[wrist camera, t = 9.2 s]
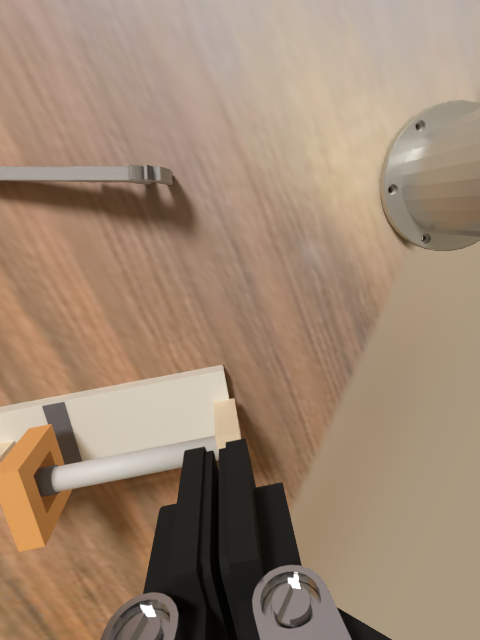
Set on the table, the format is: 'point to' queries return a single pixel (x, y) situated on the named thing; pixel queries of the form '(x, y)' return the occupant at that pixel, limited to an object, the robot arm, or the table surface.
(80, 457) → the rod stand
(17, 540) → the collar
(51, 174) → the caliper
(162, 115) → the table surface
